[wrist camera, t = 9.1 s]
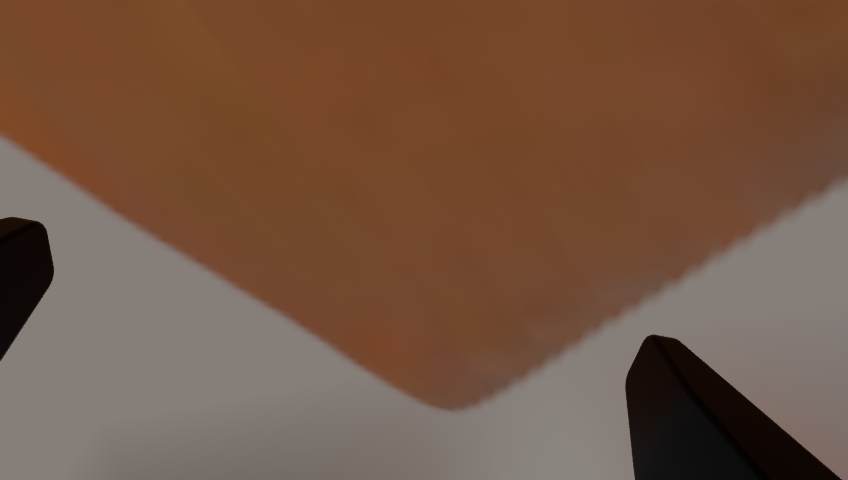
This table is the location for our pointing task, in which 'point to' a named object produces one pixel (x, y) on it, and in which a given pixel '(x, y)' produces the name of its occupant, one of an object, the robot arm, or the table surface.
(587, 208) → the table surface
